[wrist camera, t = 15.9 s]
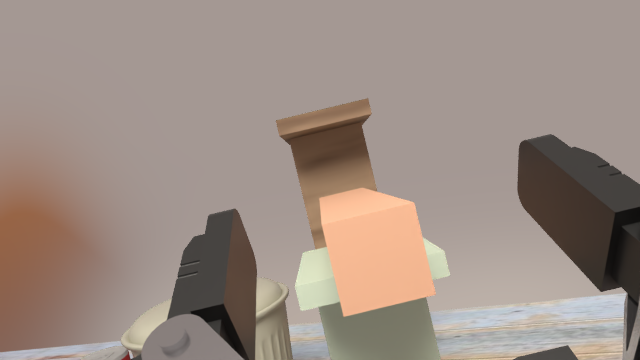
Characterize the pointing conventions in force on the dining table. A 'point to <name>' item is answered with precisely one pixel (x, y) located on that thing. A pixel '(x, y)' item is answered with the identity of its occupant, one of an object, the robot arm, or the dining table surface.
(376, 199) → the peach rectangular bar
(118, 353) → the canned food
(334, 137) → the walnut stand
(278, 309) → the canister
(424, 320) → the sage ledge
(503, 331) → the dining table surface
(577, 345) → the dining table surface
